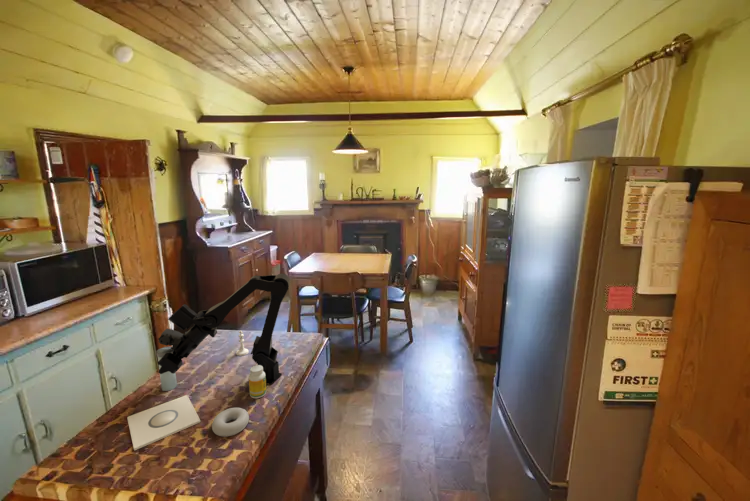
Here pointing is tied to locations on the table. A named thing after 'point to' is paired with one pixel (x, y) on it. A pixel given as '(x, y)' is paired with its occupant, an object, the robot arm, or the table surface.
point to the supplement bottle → (257, 382)
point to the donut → (234, 427)
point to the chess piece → (241, 346)
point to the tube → (166, 378)
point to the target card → (161, 421)
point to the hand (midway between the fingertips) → (162, 369)
